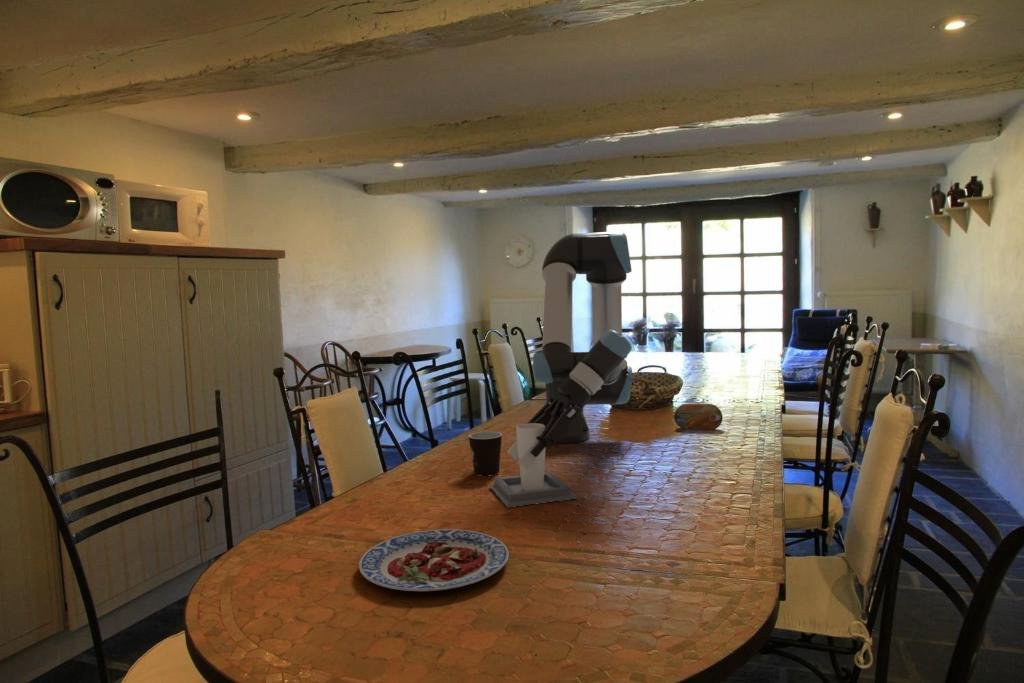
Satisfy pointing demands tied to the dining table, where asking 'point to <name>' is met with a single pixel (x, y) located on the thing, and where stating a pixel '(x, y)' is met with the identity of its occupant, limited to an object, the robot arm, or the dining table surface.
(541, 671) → the dining table surface
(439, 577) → the ceramic plate
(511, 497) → the plastic holder
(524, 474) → the drinking glass
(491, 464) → the coffee mug
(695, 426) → the tin
